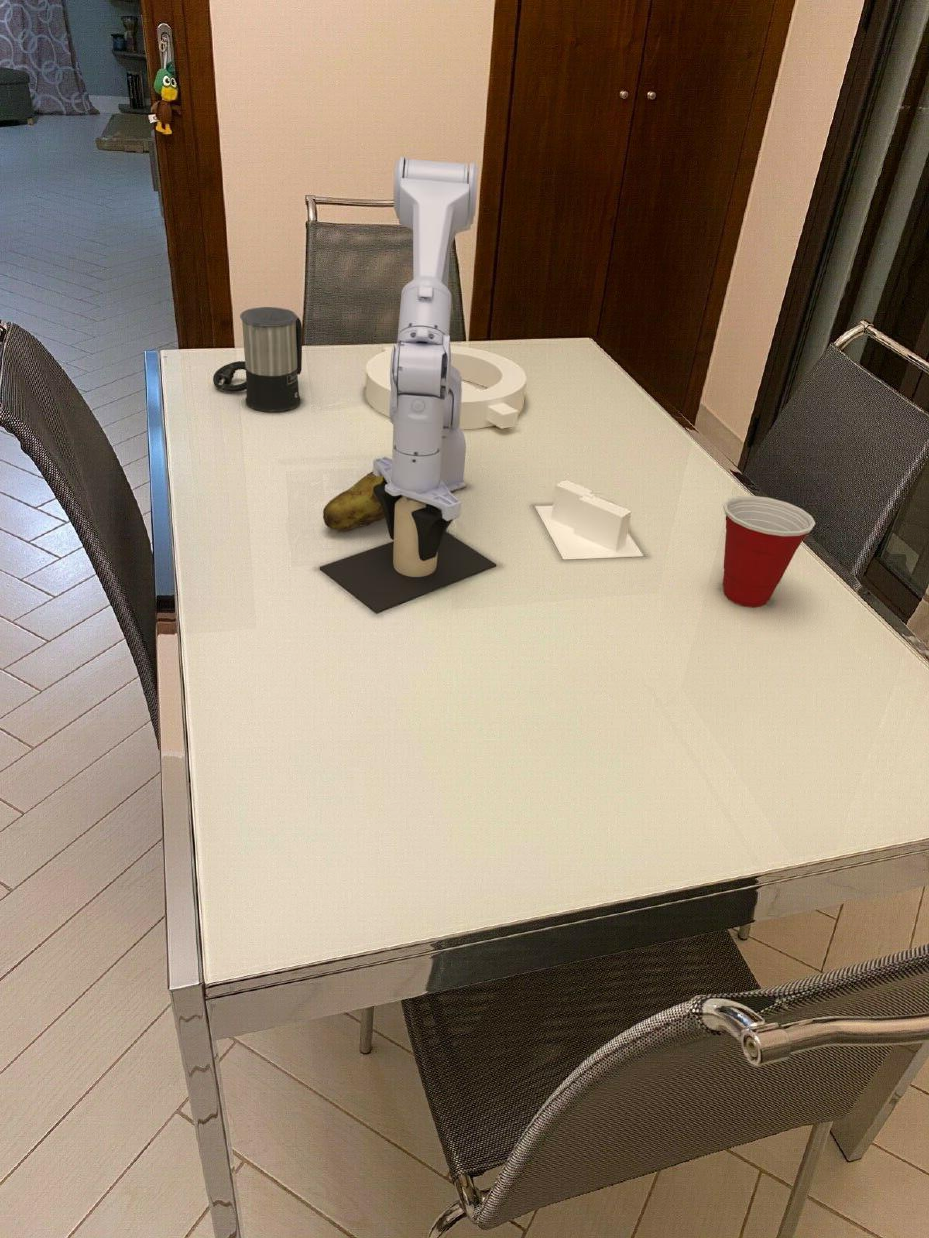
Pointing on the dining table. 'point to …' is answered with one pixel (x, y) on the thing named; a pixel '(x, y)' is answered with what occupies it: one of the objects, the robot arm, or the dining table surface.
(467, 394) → the white circle with bar
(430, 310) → the robot arm
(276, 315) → the milk frother
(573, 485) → the napkin holder
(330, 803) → the dining table surface
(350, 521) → the potato
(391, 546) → the mat
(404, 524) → the candle
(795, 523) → the plastic cup
